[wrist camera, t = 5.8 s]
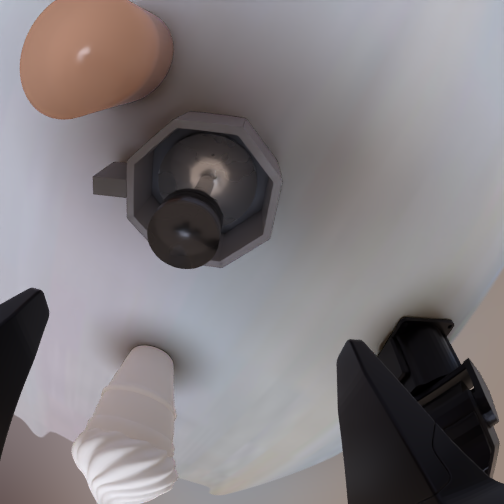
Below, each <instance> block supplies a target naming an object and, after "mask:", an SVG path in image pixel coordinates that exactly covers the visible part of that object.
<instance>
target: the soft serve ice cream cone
mask: <svg viewBox="0 0 504 504" xmlns="http://www.w3.org/2000/svg"><path fill="white" fill-rule="evenodd" d="M101 396H102V397H101V399H100V401H99V403H98V405H97V407H96V409H95V412H94V414H93V417H91V418H90V419H89V420H88V423H87V426H86V429H85V430H84V431H83V432H82V433H81V434H80V435H79V436H78V438H77V439H76V440H75V442H74V443H73V445H72V456H73V459H74V461H75V463H76V465H77V466H78V468H79V469H80V470H81V471H82V472H83V474H84V476H85V478H86V479H87V482H88V485H89V488H90V490H91V492H92V494H93V496H94V498H95V500H96V501H97V503H98V504H141V503H144V502H147V501H150V500H152V499H154V498H156V497H157V496H159V495H160V494H163V493H166V492H168V491H170V490H171V489H172V488H173V483H174V482H175V481H176V480H177V479H178V472H177V471H176V469H175V467H176V462H175V460H174V458H173V455H174V450H175V448H174V445H173V435H174V421H175V419H176V416H177V414H176V410H175V406H174V365H173V361H172V359H171V358H170V356H169V355H168V354H167V353H165V352H164V351H162V350H160V349H158V348H156V347H152V346H147V345H141V346H137V347H135V348H133V349H132V350H131V352H130V353H129V355H128V356H127V358H126V359H125V361H124V362H123V364H122V365H121V367H120V368H119V370H118V371H117V373H116V374H115V376H114V377H113V379H112V380H111V382H110V383H109V385H108V386H106V387H105V388H104V389H103V391H102V395H101Z"/></svg>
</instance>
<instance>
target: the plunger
mask: <svg viewBox="0 0 504 504" xmlns="http://www.w3.org/2000/svg"><path fill="white" fill-rule="evenodd" d="M158 185H159V190H160V194H161V197H162V199H163V202H162V203H161V205H160V206H159V207H158V209H157V210H156V212H155V213H154V215H153V216H152V218H151V220H150V222H149V224H148V228H147V237H148V242H149V245H150V247H151V249H152V250H153V252H154V253H155V254H156V256H157V257H158V258H160V259H161V260H162V261H163V262H165V263H167V264H168V265H171V266H173V267H176V268H181V269H192V268H197V267H200V266H202V265H204V264H206V263H207V262H209V261H210V260H211V259H212V258H213V256H214V255H215V253H216V252H217V249H218V245H219V240H220V236H221V231H222V226H225V225H228V224H230V223H232V222H234V221H236V220H237V219H238V218H240V217H241V216H242V215H243V214H244V213H245V212H246V211H247V210H248V208H249V207H250V205H251V204H252V202H253V199H254V197H255V193H256V187H257V175H256V169H255V166H254V163H253V161H252V159H251V157H250V155H249V154H248V152H247V151H246V150H245V149H244V148H243V147H242V146H241V145H240V144H239V143H238V142H236V141H235V140H233V139H231V138H229V137H227V136H225V135H222V134H217V133H208V132H206V133H198V134H194V135H191V136H188V137H186V138H184V139H182V140H181V141H179V142H178V143H177V144H176V145H174V146H173V147H172V148H171V149H170V150H169V151H168V153H167V154H166V155H165V157H164V159H163V161H162V163H161V166H160V169H159V175H158Z"/></svg>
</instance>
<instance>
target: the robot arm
mask: <svg viewBox="0 0 504 504" xmlns="http://www.w3.org/2000/svg"><path fill="white" fill-rule="evenodd" d="M48 318H49V308H48V305H47V302H46V299H45V296H44V293H43V291H42V290H39V289H36V288H29V289H27V290H26V291H24V292H22V293H20V294H18V295H16V296H15V297H13V298H11V299H9V300H7V301H6V302H4V303H2V304H0V459H1V455H2V451H3V447H4V444H5V440H6V437H7V433H8V430H9V427H10V424H11V421H12V417H13V414H14V411H15V409H16V406H17V403H18V400H19V397H20V394H21V392H22V389H23V386H24V384H25V381H26V379H27V376H28V374H29V371H30V369H31V366H32V364H33V361H34V359H35V356H36V353H37V350H38V347H39V344H40V341H41V338H42V335H43V332H44V329H45V326H46V324H47V321H48ZM453 326H454V323H453V321H452V320H440V319H423V318H408V317H405V318H402V319H401V320H400V321H399V323H398V324H397V326H396V328H395V330H394V331H393V333H392V335H391V336H390V338H389V339H388V341H387V343H386V344H385V346H384V347H383V349H382V351H381V352H380V354H379V355H378V357H377V356H376V355H375V354H374V353H373V352H372V351H371V349H370V348H369V347H368V346H367V345H366V344H365V343H364V342H363V341H362V340H354V339H350V340H348V341H347V342H346V343H345V345H344V347H343V349H342V351H341V353H340V355H339V356H338V359H337V395H338V415H339V423H340V431H341V439H342V448H343V456H344V466H345V476H346V487H347V498H348V504H504V484H503V483H500V482H498V481H495V480H494V479H492V478H493V474H494V470H495V465H496V460H497V456H498V450H499V444H500V443H499V439H498V437H497V434H496V432H495V429H494V425H495V424H497V423H498V422H499V419H498V415H497V412H496V409H495V406H494V403H493V400H492V397H491V394H490V391H489V390H488V387H487V385H486V384H485V382H484V380H483V378H482V376H481V374H480V372H479V371H478V370H477V368H476V367H475V366H474V364H473V363H472V362H471V361H470V359H469V358H468V359H466V360H465V361H464V363H463V364H460V361H459V359H458V357H457V355H456V353H455V352H454V350H453V348H452V346H451V344H450V342H449V340H448V338H447V335H448V334H449V333H450V331H451V330H452V328H453ZM473 386H474V388H473V389H472V390H469V389H471V388H472V387H473Z"/></svg>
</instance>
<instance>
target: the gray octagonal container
mask: <svg viewBox="0 0 504 504" xmlns="http://www.w3.org/2000/svg"><path fill="white" fill-rule="evenodd" d="M206 132H208V133H217V134H222V135H225V136H227V137H229V138H231V139H233V140H235V141H236V142H238V143H239V144H240V145H241V146H242V147H243V148H244V149H245V150H246V151H247V152H248V154H249V155H250V157H251V159H252V161H253V163H254V166H255V169H256V175H257V187H256V193H255V197H254V199H253V202H252V204H251V205H250V207H249V208H248V210H247V211H246V212H245V213H244V214H243V215H242V216H241V217H240V218H238V219H237V220H236V221H234V222H232V223H230V224H228V225H225V226H222V231H221V236H220V240H219V245H218V249H217V252H216V253H215V255H214V256H213V258H212V259H211V260H210V261H209V262H207V263H206V264H204V266H211V267H218V268H223V267H225V266H226V265H228V264H230V263H231V262H233V261H234V260H236V259H238V258H239V257H241V256H243V255H244V254H246V253H248V252H249V251H251V250H253V249H254V248H256V247H257V246H259V245H261V244H262V243H264V242H266V241H267V240H269V239H270V237H271V233H272V228H273V224H274V219H275V214H276V210H277V205H278V201H279V196H280V191H281V187H282V182H283V181H282V177H281V173H280V169H279V165H278V161H277V160H276V158H275V157H274V156H273V154H272V153H271V151H270V150H269V149H268V147H267V146H266V145H265V143H264V142H263V141H262V139H261V138H260V136H259V135H258V134H257V132H256V131H255V130H254V128H253V127H252V126H251V124H250V123H249V122H248V121H247V119H245V118H242V117H235V116H227V115H219V114H211V113H202V112H192V111H190V112H188V113H186V114H184V115H182V116H180V117H178V118H176V119H174V120H172V121H171V122H170V123H169V124H168V125H166V126H165V127H164V128H163V129H162V130H161V131H159V132H158V133H157V134H156V135H155V136H154V137H152V138H151V139H150V140H149V141H148V142H147V143H146V144H145V145H143V146H142V147H141V148H140V149H139V150H138V151H137V152H136V153H135V154H134V155H133V156H131V157H130V158H129V159H128V160H127V163H121V162H113V163H111V164H110V165H109V166H107V167H106V168H104V169H103V170H101V171H100V172H99V173H97V174H96V175H94V176H93V194H97V195H106V196H115V197H124V198H127V219H128V220H129V221H130V222H131V223H132V224H133V225H134V226H135V228H136V229H137V230H138V231H139V232H140V233H141V234H142V235H143V236H144V237H145V238H146V239H147V240H148V237H147V228H148V224H149V222H150V220H151V218H152V216H153V215H154V213H155V212H156V210H157V209H158V207H159V206H160V205H161V203H162V202H163V199H162V197H161V194H160V190H159V185H158V175H159V169H160V166H161V163H162V161H163V159H164V157H165V155H166V154H167V153H168V151H169V150H170V149H171V148H172V147H173V146H174V145H176V144H177V143H178V142H179V141H181V140H182V139H184V138H186V137H188V136H191V135H194V134H198V133H206Z"/></svg>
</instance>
